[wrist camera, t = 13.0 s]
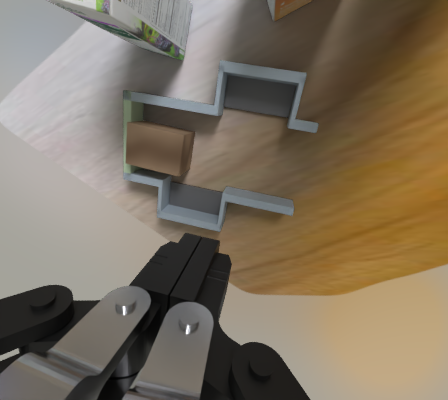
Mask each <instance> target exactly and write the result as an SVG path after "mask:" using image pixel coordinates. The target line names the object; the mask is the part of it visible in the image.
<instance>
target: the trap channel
mask: <svg viewBox="0 0 448 400" xmlns="http://www.w3.org/2000/svg"><path fill="white" fill-rule="evenodd" d="M306 75H307V73H303V72H297V71H290V70H283V69H276V68H269V67H263V66H256V65H249V64H242V63H236V62H229V61H222V60H220V65H219V73H218V80H217V88H216V96H215V104H214V105H211V104H205V103H199V102H193V101H187V100H181V99H176V98H170V97H164V96H158V95H152V94H146V93H140V92H133V91H125V90H123V162H124V180H129V181H134V182H138V183H143V184H148V185H152V186H157V187H159V189H158V207H157V217H158V218H162V219H166V220H171V221H175V222H179V223H184V224H188V225H192V226H197V227H201V228H205V229H210V230H214V231H218V232H220V231H221V228H222V226H223V224H224V220H225V214H226V208H227V203H228V202H231V203H235V204H240V205H245V206H249V207H254V208H259V209H263V210H268V211H272V212H277V213H282V214H286V215H291V216H292V215H293V211H294V204H293V200H290V199H286V198H281V197H276V196H271V195H267V194H262V193H257V192H252V191H247V190H243V189H238V188H233V187H228V186H226V188H225V190H224V192H219V191H214V190H209V189H205V188H200V187H195V186H190V185H186V184H181V183H176V182H171V175H170V174H166V173H161V172H156V171H151V170H147V169H142V167H138V166H134V165H130V164H126V138H127V122H134V121H143V105H144V103H147V104H152V105H158V106H164V107H170V108H175V109H181V110H187V111H192V112H198V113H204V114H210V115H215V116H220V115H222V114H223V107H228V108H234V109H240V110H246V111H252V112H258V113H264V114H269V115H275V116H281V117H287V118H288V116H289V119H288V123H287V127H288V128H290V129H295V130H301V131H307V132H312V133H316V132H317V128H318V125H319V123H316V122H311V121H305V120H299V119H295V118H296V114H297V110H298V107H299V103H300V99H301V95H302V91H303V87H304V83H305V79H306ZM227 79H228V82H227ZM226 86H227V89H226ZM295 87H296V90H295ZM294 91H295V95H294ZM225 93H226V96H225ZM293 96H294V99H293ZM224 100H225V103H224ZM292 100H293V103H292ZM291 104H292V107H291ZM290 108H291V111H290ZM289 112H290V115H289Z"/></svg>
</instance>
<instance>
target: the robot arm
mask: <svg viewBox="0 0 448 400" xmlns="http://www.w3.org/2000/svg"><path fill="white" fill-rule="evenodd" d="M219 246H220V241H218V240H214V239H210V238H206V237H201V236H197V235H193V234H189V233H185V234H184V235H183V237H182V238H181V240H180V241H179V242H178V243H176V242H172V241H170V242H169V243H167V244H165V245H163V246H161V247H160V248H159V250H158V251H157V252H156V253H155V255H154V256H153V257H152V258H151V259H150V261H149V262H148V263H147V264H146V266H145V267H144V268H143V269H142V270H141V272H140V273H139V274H138V275H137V276H136V278H135V279H134V280H133V281H132V282H131V284H130V285H129V286H124V287H120V288H117V289H115V290H113V291H111V292H110V293H108V294H107V295H106V296H105V297H104V298H103V299H102V300H96V301H73V295H72V292H71V291H70V289H68V288H67V287H64V286H60V285H48V286H43V287H39V288H36V289H33V290H30V291H26V292H23V293H20V294H17V295H13V296H10V297H7V298H3V299H0V355H3V354H5V353H7V352H10V351H12V350H14V349H17V348H19V352H20V353H19V354H16V355H14V356H12V357H9V358H7V359H5V360H2V361H0V400H310V398H309V397H308V396H307V394H306V393H305V391H304V390H303V388H302V387H301V385H300V384H299V383H298V381H297V380H296V378H295V377H294V375H293V374H292V372H291V371H290V369H289V368H288V367H287V365H286V364H285V362H284V361H283V359H282V358H281V357H280V355H279V354H278V353H277V352H276V351H275V350H273V349H272V348H271V347H269V346H267V345H265V344H262V343H258V342H249V343H246V344H243V345H242V346H241V345H240V344H238V343H236V342H235V341H233V340H232V339H231V338H229V337H228V336H227V335H226V334H225V333H224V332H223V330H222V329H221V327H220V325H219V318H220V314H221V310H222V306H223V302H224V299H225V295H226V290H227V285H228V280H229V275H230V270H231V265H232V263H231V260H230V257H229V255H225V254H221V253H218V252H219Z"/></svg>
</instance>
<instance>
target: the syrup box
mask: <svg viewBox="0 0 448 400" xmlns="http://www.w3.org/2000/svg"><path fill="white" fill-rule="evenodd" d="M47 1H49V2H51V3H53V4H55V5H57V6H59V7H61V8H63V9H65V10H67V11H69V12H71V13H73V14H75V15H76V16H78V17H80V18H82V19H84V20H86V21H88V22H90V23H92V24H94V25H96V26H98V27H100V28H102V29H104V30H106V31H108V32H110V33H112V34H114V35H116V36H118V37H120V38H122V39H124V40H126V41H128V42H130V43H132V44H134V45H137V46H139V47H141V48H144V49H147V50H149V51H152V52H155V53H159V54H162V55H166V56H169V57H173V58H176V59H180V60H183V59H184V53H185V47H186V41H187V35H188V29H189V23H190V17H191V11H192V3H191V2H190V0H47Z"/></svg>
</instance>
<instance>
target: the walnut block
mask: <svg viewBox="0 0 448 400" xmlns="http://www.w3.org/2000/svg"><path fill="white" fill-rule="evenodd" d="M194 137H195V132H194V131H189V130H185V129H181V128H176V127H172V126H167V125H163V124H158V123H154V122H150V121H134V122H127V138H126V164H130V165H134V166H138V167H142V168H146V169H150V170H154V171H158V172H162V173H166V174H170V175H174V176H178V177H179V176H180V175H182V174H183V173H185V172H186V171H187V170H189V169H190V165H191V158H192V151H193V144H194Z"/></svg>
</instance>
